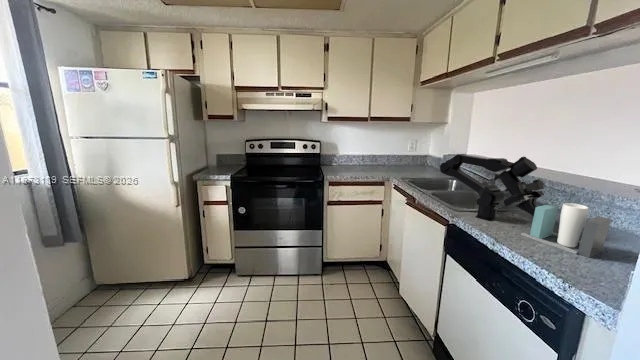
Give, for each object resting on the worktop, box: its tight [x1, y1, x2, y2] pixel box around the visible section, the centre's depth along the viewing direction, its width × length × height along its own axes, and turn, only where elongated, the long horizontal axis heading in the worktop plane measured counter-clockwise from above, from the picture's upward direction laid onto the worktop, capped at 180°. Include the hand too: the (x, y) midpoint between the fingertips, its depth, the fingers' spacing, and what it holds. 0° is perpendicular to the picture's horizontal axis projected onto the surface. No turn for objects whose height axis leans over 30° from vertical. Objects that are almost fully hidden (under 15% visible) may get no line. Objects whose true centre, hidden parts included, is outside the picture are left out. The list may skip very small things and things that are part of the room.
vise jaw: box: [529, 203, 559, 239], centre depth 103 cm, size 3×10×12 cm, turn 117°
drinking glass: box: [556, 202, 589, 249], centre depth 96 cm, size 7×7×15 cm
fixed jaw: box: [521, 216, 612, 259], centre depth 98 cm, size 20×12×12 cm, turn 27°
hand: (537, 217), depth 105 cm, fingers closed
